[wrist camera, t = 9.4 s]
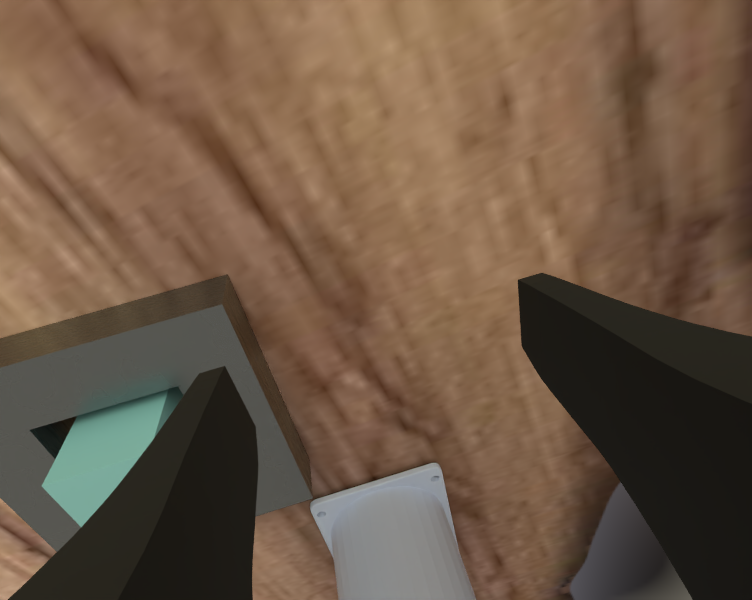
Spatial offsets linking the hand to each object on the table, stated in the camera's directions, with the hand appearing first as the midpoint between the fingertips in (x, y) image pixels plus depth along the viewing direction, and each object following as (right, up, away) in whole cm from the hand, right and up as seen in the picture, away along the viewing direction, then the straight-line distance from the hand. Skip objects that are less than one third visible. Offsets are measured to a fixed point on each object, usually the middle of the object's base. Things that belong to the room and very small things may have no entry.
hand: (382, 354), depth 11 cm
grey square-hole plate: (-11, -4, +11) cm, 16 cm away
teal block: (-11, -4, +11) cm, 16 cm away
